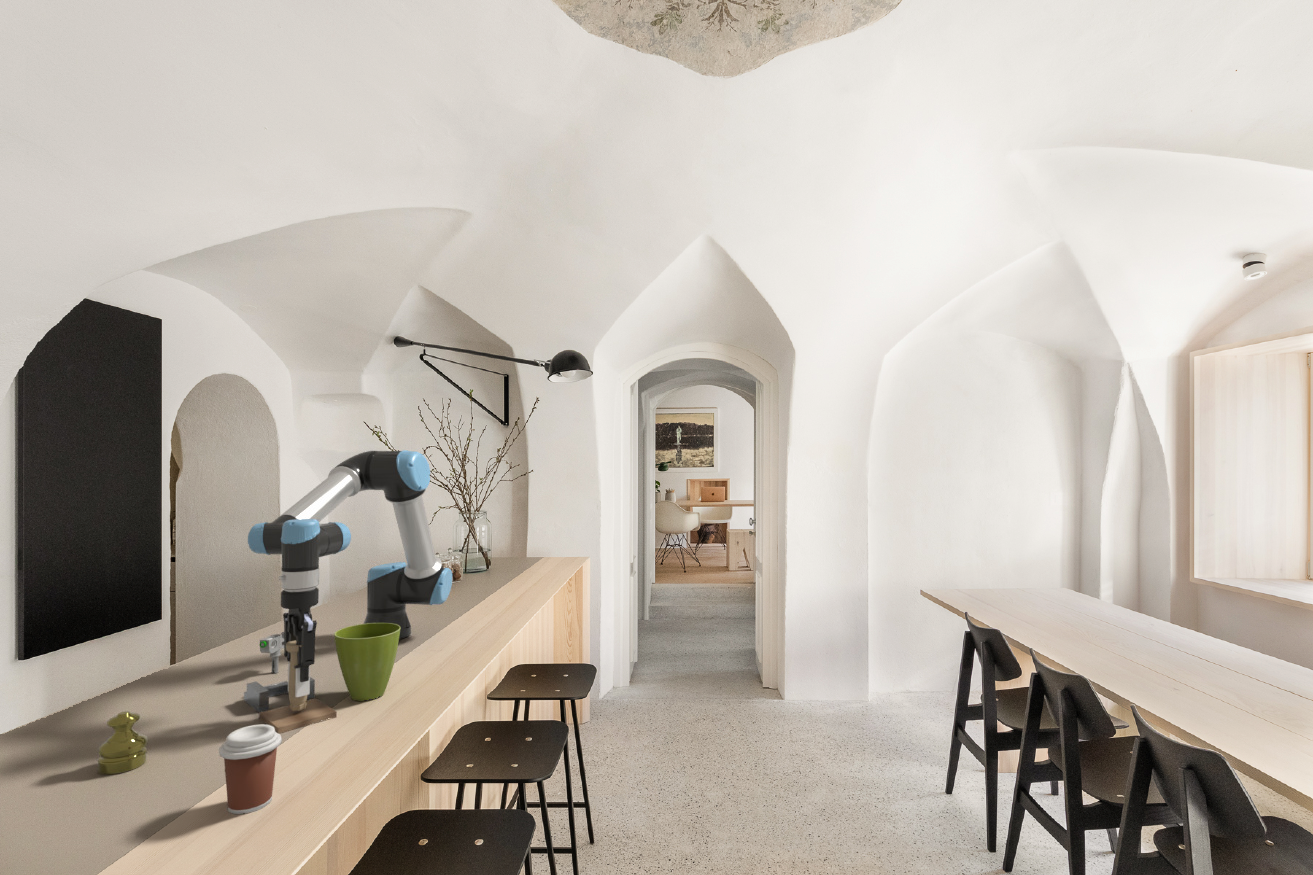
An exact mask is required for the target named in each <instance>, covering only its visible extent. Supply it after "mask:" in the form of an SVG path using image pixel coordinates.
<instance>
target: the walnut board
mask: <svg viewBox="0 0 1313 875" xmlns="http://www.w3.org/2000/svg"><path fill="white" fill-rule="evenodd" d="M305 702H307V704H306V708H305V709H302V710H300V711H292V710H291V709H290V704H288V705H285V706H281V707H277V708H273V709H269V710H268V711H264V712H260V713H259V712H258V713H259V714H258V719H259V720H261V721H262V722H263V723H264V724H265V725H270V726H273V727H274V729H275V732H276V733H278V734H283V733H285V732H289V731H292V730H296V729H300V728H304V727H307V726H311V725H313V724H312V723H314V724H317V723H316V722H318V723H320V722H319V721H321V720H325V721H327V720H326V719H328V718H332V719H335V718H337V712H338V711H336V710H335V709H334V708H332V707H330V706H328V705H327V704H325V703H324V702H323V701H321V700H319V699H318V698H316V697H314V699H311V700H307V701H305ZM328 720H329V719H328ZM321 722H322V721H321ZM310 724H311V725H310Z"/></svg>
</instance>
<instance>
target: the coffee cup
mask: <svg viewBox="0 0 1313 875" xmlns="http://www.w3.org/2000/svg"><path fill="white" fill-rule="evenodd" d="M282 741H283V740H282V735H281V733H279V734H278V733H277V732H275V729H274V727H273V726H270V725H267V724H265V723H264V724H253V725H248V726H244V727H240V728H238V729H236V730H233V731H232V732H230V733H229V734H228V735H227V736H226V740H225V741H224V742H223V743H222V744H221V746H220V747H218V748H219V749H218V751H219V752H218V755H219V757H221V758H223V761H224V762H223V763H224V775H225V784H226V785H225V787H226V798H227V812H228V813H230V812H231V814H234V815H243V813H245V814H249V812H250V813H253V812H257V811H258V809H259V810H262V809H264V808H265V807H267V806H268V805H269V804H270V803H271V802H272V801H273V790H274V781H275V780H274V778H275V770H276V763H277V762H276V760H277V751H278V747H279V746H280V745H281V744H282ZM270 801H271V802H270ZM267 804H268V805H267ZM266 805H267V806H266ZM263 807H264V808H263Z"/></svg>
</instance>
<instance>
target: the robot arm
mask: <svg viewBox="0 0 1313 875" xmlns="http://www.w3.org/2000/svg"><path fill="white" fill-rule="evenodd" d="M430 475H431V468H430V464H429V462H428V460H427V458H426V456H424V454H422V453H421V452H419V451H414V450H405V449H404V450H368V451H364V452H361V453H358V454H355V455H353V456H351V457H349V458H347V459H345V460H343V461H341V463H339V464H337V465H336V466H335V467H333V468H332V469H331V470H330V471H329V473H328V475H327V478H326V479H324V480H323V481H321V483H319V484H318V485H317V486H315V488H313V489H312V490H310V491H309V492H308V493H307V494H305V495H304V496H303V497H302V498H301V499H299V500H298V501H297V502H295V503H294V504H293V505H291V507H289V508H288V509H287V510H286V511H285V512H283V513H282V514H281V515H279V516H278V517H277V518H276V519H275V520H273V521H271V522H267V521H266V522H259V523H255V524H254V525H252V527H251V528H250V530H249V531H248V535H247V544H248V547H249V549H250V550H251V551H252V552H253V554H254V553H255V554H262V555H268V556H270V555H281V568H280V569H281V575H280V576H278V580H279V581H281V582H280V588H281V589H282V591H281V592H280V607H281V608H282V609H285V610H286V609H288V612H284V613H282V617H283V627H284V628H283V632H284V648H283V649H284V650H283V651H284V652H283V656H284V657H285V658H286V661H287V662H288V663H287V682H288V693H289V673H290V659H291V653H290V652H288V651H286V643H287V642H289V641H295V640H296V645H298V646H299V645H301V647H300V646H299V648H298V652H297V662H298V665H296V666H294V668H295V669H296V683H295V697H300V696H304V695H308V694H310V677H311V666H312V665H314V664H315V657H316V655H315V654H316V653H315V652H316V630H317V626H318V625H317V624H318V622H317V620H316V619H315V620H313V614H312V613H311V612H312V611H311V608H312V607H314V606H317V605H318V604H319V591H320V590H319V588H318V586H319V585H320V566H319V564H320V558H322V557H326V556H330V555H336V554H338V553H341V552H343V551H345V550H346V549H347V548H348V547H349V546H350V544H351V540H352V534H351V530H350V529H349V527H348V526H347V525H346V524H344V523H342V522H337V521H336V522H335V521H334V522H331V521H330V522H327V523H320V522H322V520H324V519H325V518H326V517H327V516H328V515H330V513H332V512H333V511H334V510H335V509H336V508H337V507H338V506H340V504H341V503H342V502H344V501H345V500H346V499H347V498H350V497H351V498H352V497H354V496H356V495H357V494H358V493H359V492H363V491H364V492H365V491H372V490H373V491H383V493H384V498H385V500H387V502H389V503H391V504H392V507H393V510H394V516H395V519H396V524H397V527H398V531H399V535H400V538H401V539H400V540H401V542H402V547H403V552H404V556H405V559H406V562H405V561H397V562H389V563H384V564H379V565H376V566H373V567H371V568H369V570H368V572H367V577H366V578H367V580H366V585H367V586H366V590H367V592H366V603H367V604H366V605H367V606H366V608H367V609H366V616H365V619H364V621H363V624H367V623H392V624H397V625H399V626H400V635H399V640H401V639H405V638H408V637H410V635H411V634H412V625H411V622H410V620H409V616H408V613H407V610H406V609H407V607H406V605H423V606H424V605H426V606H433V605H442V604H444V603H445V602H446V601H447V599H448V597H449V596H450V593H451V590H452V585H453V572H452V570H451V569H450V568H449V567H444V566H443V562H442V559H441V558H440V557H438V556H436V553H435V548H434V543H433V540H432V534H431V531H430V526H429V521H428V517H427V516H428V515H427V512H426V508H425V502H424V497H423V495H424V494H425V493H426V489H427V488H428V486H429V485H430V483H431V482H430V481H431V476H430Z"/></svg>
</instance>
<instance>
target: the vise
mask: <svg viewBox="0 0 1313 875" xmlns="http://www.w3.org/2000/svg"><path fill="white" fill-rule="evenodd" d="M315 680H316V679H314V678H312V677H311V676H310V694H308V695H307V700H311V699H315V698H316V697H315V695H316V694H315V684H316V682H315ZM284 694H289V692H288V680H284V681H280V682H276V683H271V684H267V685H262V684H260V683H259V682H257V681H253V682H248V683H246V691H244V692H243V701H244V702H245V703H246V704H248V706H249V707H250V708H252V709H254V710H255V711H256V712H258V713H261V712H265V711H269V710H270V708H269V707H270V704H269V703H270V698H271V697H274V696H275V697H277V696H279V695H284ZM307 700H306V701H307Z"/></svg>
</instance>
